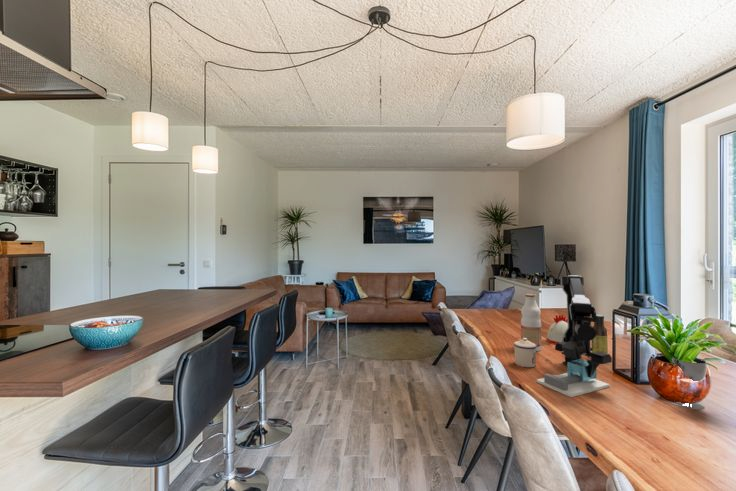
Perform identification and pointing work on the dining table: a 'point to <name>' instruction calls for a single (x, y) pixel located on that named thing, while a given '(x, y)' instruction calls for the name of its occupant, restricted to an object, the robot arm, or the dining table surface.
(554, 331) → the kitchen timer
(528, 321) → the fruit juice
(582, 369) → the slotted lock block
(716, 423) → the dining table surface
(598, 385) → the rail base plate
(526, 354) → the teacup with lid
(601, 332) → the sauce bottle
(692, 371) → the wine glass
